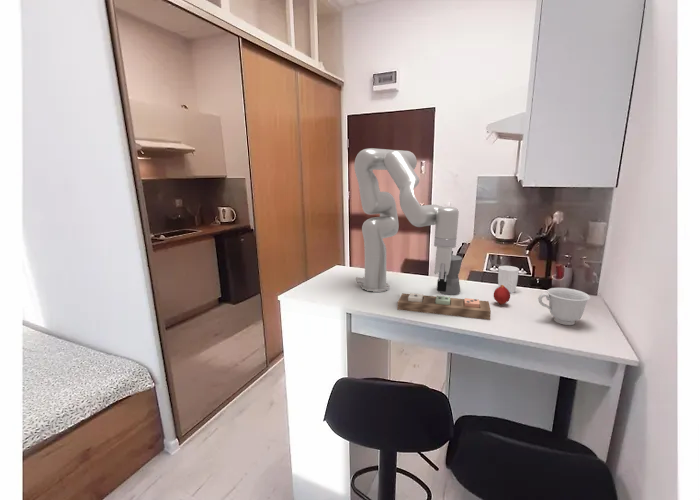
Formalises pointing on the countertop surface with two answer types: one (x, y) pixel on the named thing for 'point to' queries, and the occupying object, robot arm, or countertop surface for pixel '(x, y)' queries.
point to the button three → (471, 303)
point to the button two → (443, 300)
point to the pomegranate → (501, 295)
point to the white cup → (508, 277)
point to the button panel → (445, 307)
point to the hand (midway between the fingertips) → (441, 290)
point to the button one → (415, 297)
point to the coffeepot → (453, 276)
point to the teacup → (565, 304)
